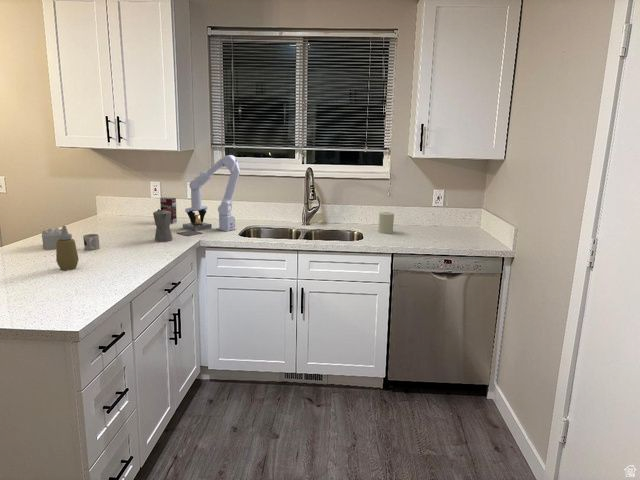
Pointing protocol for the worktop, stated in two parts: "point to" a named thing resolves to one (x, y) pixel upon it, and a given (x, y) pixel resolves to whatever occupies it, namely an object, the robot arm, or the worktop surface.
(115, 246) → the worktop surface
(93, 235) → the mug
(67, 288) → the worktop surface
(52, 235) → the lumpy-topped squat cylinder
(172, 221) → the supplement box
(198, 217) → the end cap
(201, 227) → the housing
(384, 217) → the can
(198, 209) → the robot arm
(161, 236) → the coffeepot
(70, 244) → the squeeze bottle
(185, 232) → the mat
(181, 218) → the worktop surface
